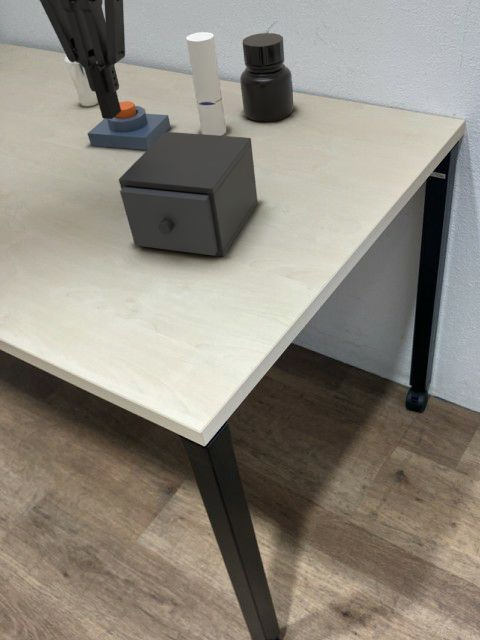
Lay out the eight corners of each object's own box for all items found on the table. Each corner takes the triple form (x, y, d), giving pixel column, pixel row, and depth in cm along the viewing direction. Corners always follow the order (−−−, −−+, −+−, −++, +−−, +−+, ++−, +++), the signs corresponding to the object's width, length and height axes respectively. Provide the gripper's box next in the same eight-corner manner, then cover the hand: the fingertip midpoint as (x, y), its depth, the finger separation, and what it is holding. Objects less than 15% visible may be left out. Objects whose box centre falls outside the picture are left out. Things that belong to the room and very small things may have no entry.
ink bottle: (303, 106, 110) (300, 33, 101) (281, 126, 105) (276, 51, 96) (257, 99, 113) (250, 28, 105) (233, 118, 108) (223, 45, 100)
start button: (111, 119, 103) (109, 109, 101) (121, 110, 105) (119, 100, 104) (130, 120, 102) (128, 110, 100) (140, 112, 104) (138, 101, 103)
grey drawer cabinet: (223, 256, 78) (212, 188, 71) (136, 245, 82) (118, 179, 75) (257, 202, 87) (251, 137, 80) (178, 194, 90) (164, 131, 84)
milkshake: (87, 111, 115) (71, 54, 108) (73, 104, 118) (56, 48, 111) (108, 103, 117) (93, 47, 110) (94, 96, 120) (78, 41, 113)
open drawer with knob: (211, 261, 76) (201, 205, 71) (130, 250, 79) (114, 196, 74) (247, 205, 85) (241, 151, 80) (174, 197, 88) (163, 145, 83)
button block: (90, 145, 104) (84, 122, 102) (115, 123, 110) (110, 101, 107) (148, 150, 102) (142, 126, 99) (170, 127, 107) (166, 104, 105)
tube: (218, 124, 107) (204, 30, 96) (231, 131, 104) (218, 36, 94) (197, 131, 105) (181, 37, 95) (210, 139, 103) (195, 43, 92)
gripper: (122, -101, 70) (164, 106, 87) (28, -98, 73) (86, 101, 90) (88, -88, 65) (139, 129, 82) (-11, -86, 69) (58, 122, 85)
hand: (112, 114), depth 86 cm, fingers closed
